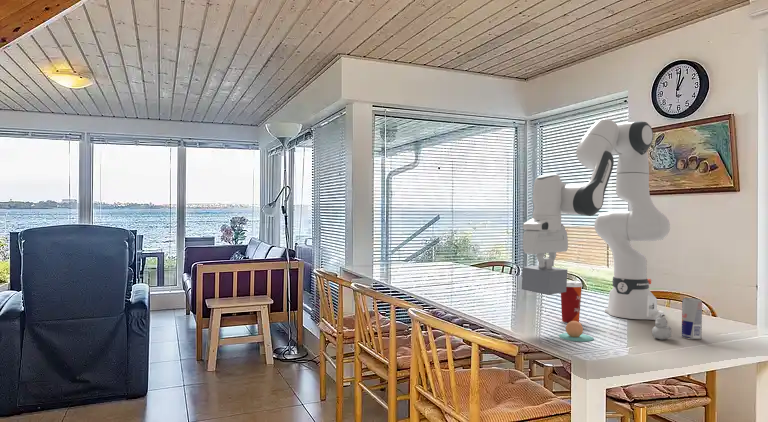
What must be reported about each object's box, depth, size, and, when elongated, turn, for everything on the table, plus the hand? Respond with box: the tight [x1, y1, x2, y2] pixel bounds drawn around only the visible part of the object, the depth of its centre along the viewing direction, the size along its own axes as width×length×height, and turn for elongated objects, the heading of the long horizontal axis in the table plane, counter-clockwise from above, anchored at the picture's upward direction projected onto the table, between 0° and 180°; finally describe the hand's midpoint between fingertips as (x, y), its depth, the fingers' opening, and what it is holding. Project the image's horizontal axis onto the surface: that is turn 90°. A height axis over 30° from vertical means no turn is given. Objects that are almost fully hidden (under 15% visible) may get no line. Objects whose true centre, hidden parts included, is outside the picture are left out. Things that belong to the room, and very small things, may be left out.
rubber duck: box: [651, 314, 672, 341], centre depth 163 cm, size 5×7×8 cm
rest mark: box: [558, 332, 595, 343], centre depth 163 cm, size 10×10×1 cm
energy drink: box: [681, 297, 703, 340], centre depth 165 cm, size 5×5×12 cm
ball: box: [565, 321, 584, 337], centre depth 164 cm, size 5×5×5 cm
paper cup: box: [560, 280, 583, 324], centre depth 187 cm, size 8×8×14 cm
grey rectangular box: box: [521, 257, 568, 296], centre depth 172 cm, size 10×10×10 cm
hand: (546, 266), depth 172 cm, fingers closed on grey rectangular box, 3 cm apart
